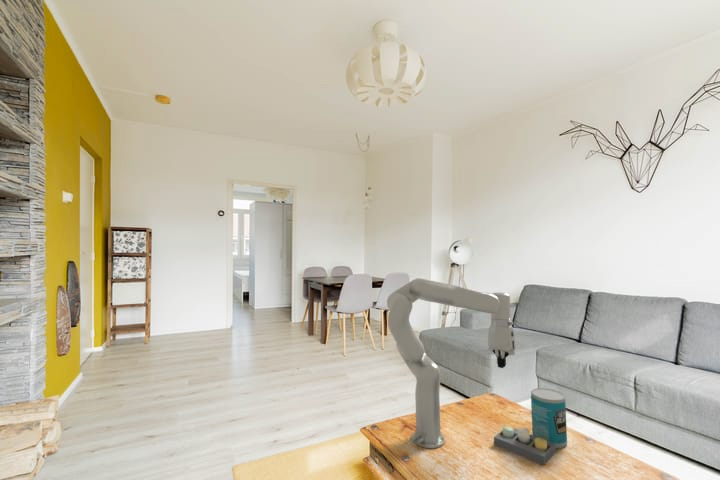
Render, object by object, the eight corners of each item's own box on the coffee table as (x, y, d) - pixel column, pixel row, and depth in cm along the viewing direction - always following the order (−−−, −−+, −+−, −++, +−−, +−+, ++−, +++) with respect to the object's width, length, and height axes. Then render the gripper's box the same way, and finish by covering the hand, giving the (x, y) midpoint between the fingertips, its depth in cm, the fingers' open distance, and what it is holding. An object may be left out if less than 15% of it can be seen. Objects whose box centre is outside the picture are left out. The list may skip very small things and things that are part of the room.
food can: (531, 430, 143) (529, 386, 144) (564, 435, 138) (562, 390, 139) (533, 444, 132) (531, 397, 133) (569, 451, 127) (567, 402, 128)
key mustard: (545, 456, 123) (544, 444, 123) (533, 451, 126) (532, 440, 126) (548, 451, 126) (548, 440, 126) (537, 447, 129) (536, 436, 129)
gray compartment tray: (544, 465, 119) (543, 456, 120) (494, 445, 132) (493, 437, 133) (555, 451, 128) (555, 443, 128) (507, 433, 141) (507, 426, 141)
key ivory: (527, 444, 127) (527, 433, 127) (516, 440, 130) (516, 429, 130) (531, 440, 130) (531, 429, 130) (520, 436, 133) (520, 426, 133)
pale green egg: (511, 443, 132) (511, 432, 132) (501, 439, 135) (500, 428, 135) (515, 439, 134) (515, 428, 135) (505, 435, 137) (505, 425, 137)
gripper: (522, 324, 140) (523, 369, 139) (488, 319, 151) (489, 361, 150) (514, 326, 135) (515, 373, 134) (479, 321, 146) (480, 364, 145)
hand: (501, 367), depth 142 cm, fingers closed
